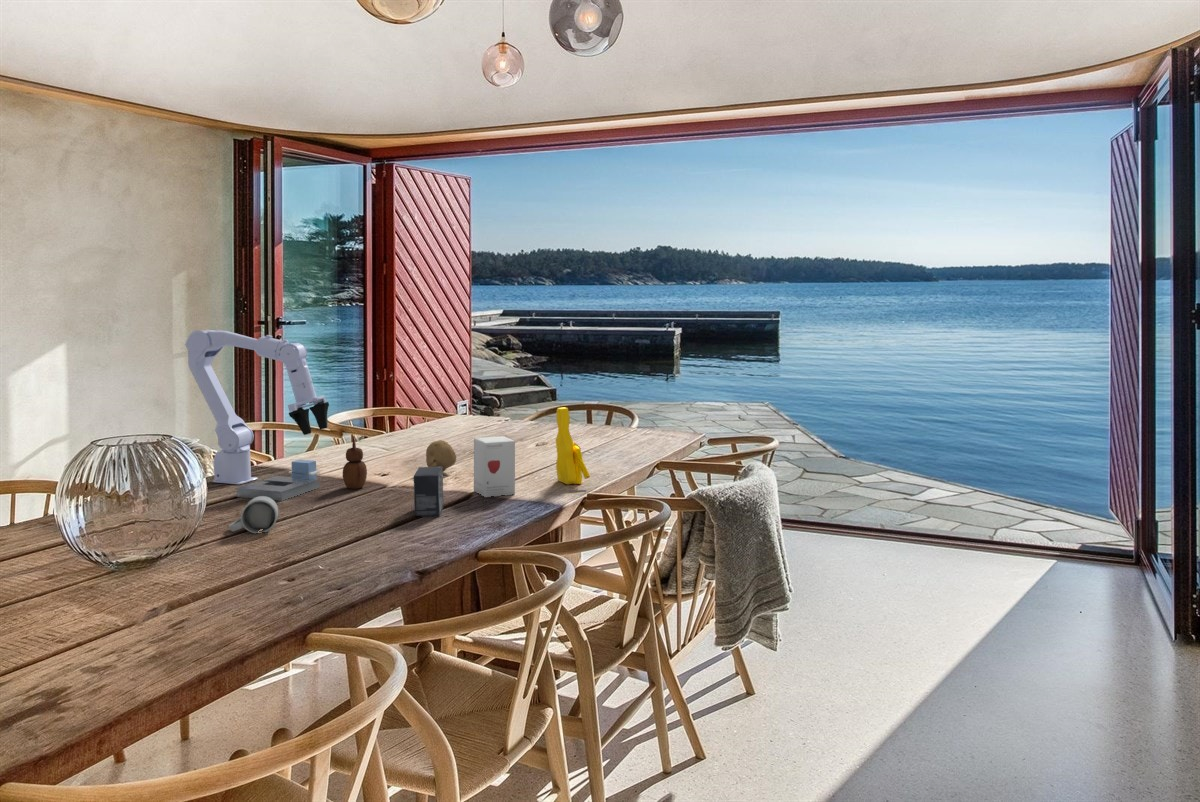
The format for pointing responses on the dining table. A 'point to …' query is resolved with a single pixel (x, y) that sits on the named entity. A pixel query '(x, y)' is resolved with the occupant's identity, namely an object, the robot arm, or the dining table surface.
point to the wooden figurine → (354, 468)
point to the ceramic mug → (257, 515)
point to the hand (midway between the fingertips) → (315, 431)
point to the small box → (428, 491)
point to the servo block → (304, 469)
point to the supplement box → (494, 466)
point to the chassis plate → (278, 487)
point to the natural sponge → (440, 455)
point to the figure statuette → (568, 452)
